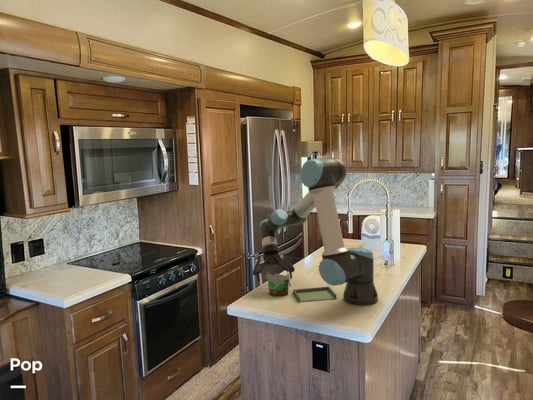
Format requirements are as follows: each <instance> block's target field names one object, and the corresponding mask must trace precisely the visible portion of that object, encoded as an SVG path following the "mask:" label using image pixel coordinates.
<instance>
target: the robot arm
mask: <svg viewBox="0 0 533 400" xmlns="http://www.w3.org/2000/svg"><path fill="white" fill-rule="evenodd" d="M346 167H347V166H346V165H345V163H344V162H343V161H342V160H340V159H339V158H336V157H329V158H328V157H327V158H325V157H324V158H323V157H322V158H317V157H316V158H312V159H307V160H306V161H305V162H304V163H303V165H302V167H301V168H300V174H299V178H300V181H301V184H303V186H305V187H306V188H308V192H307V193H306V194H305V195H304V196H303V198H302V199H301V200H300V201H299V202H298V203H297V204H296V206H295V207H294V208H293V209H292V210H287V211H286V210H284V209H282V208H277V209H275V210H274V211H273V212H272V213H271V215H270V216H269V218H266V219H263V220H261V221H260V223H259V232H260V237H261V238H260V239H261V245H262V254H263V256H261V255H258V256H257V261H256V263H255V265H254V267H253V269H252V275H253V276H256V281H257V282H259V285H260V289H263V280H262V273H263V271H264V270H265V268H266V267H267V266H272V265H274V266H276V265H277V266H279V267H281V268H282V269H283V270H284V271H285V272H286V273H287V274H286V275H288V274H289V276H290V279H289V284H288V287H292V279H293V274H292V273H294V272H295V267H294V265H293V264H292V263H291V262H290V260H289V259H288V258H287V256H286V253H282V254H281V255H280V252H279V247H278V241H277V233H278V232H279V230H280V229H281V228H286V227H290V226H291V227H292V226H296V225H302V224H304V223H306V222H307V221H308V218H309V217H308V216H309V214H311V212H312V211H313V210H314V209H315V210H316V215H317V219H318V225H319V230H320V234H321V240H322V244H323V245H322V246H323V252H322V254H321V257H322V258H321V259H322V260H321V261H319V264H318V272H319V275H320V277H321V279H322V280H323V281H324V282H325V283H326V284H327V285H330V286H333V287H334V286H340V285H344V284H345V283H346V284H345V287H344V290H343V295H342V297H343V301H344V302H346V303H347V304H351V305H356V306H369V305H373V304H375V303H377V302H378V301H379V296H378V295H379V294H378V291H377V288H376V286H375V283H374V282H375V281H374V279H375V278H374V259H375V258H374V252H373V251H372V250H371V249H368V248H362V247H346V246H345V242H344V238H343V233H342V228H341V223H340V220H339V219H340V218H339V214H338V208H337V204H336V199H335V195H334V190H336V189H338V188H339V187H340V186H341V184H342V183H343V182H344V181H345V180H346V177H347V173H348V172H347V168H346ZM282 260H283V261H282ZM262 261H263V263H262V264H261V266H260V263H261V262H262ZM259 266H260V267H259Z"/></svg>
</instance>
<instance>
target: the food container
mask: <svg viewBox="0 0 533 400" xmlns="http://www.w3.org/2000/svg"><path fill="white" fill-rule="evenodd" d="M265 278H266V280H267V285H268V294H269V295H270V296H272V297H275V298H276V297H277V298H278V297H285V296H288V294H289V279H290V276H289V274H288V275H287V274H286V275H285V274H280V273H270V272H269V271H267V272H266V274H265Z"/></svg>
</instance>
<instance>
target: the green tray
mask: <svg viewBox="0 0 533 400" xmlns="http://www.w3.org/2000/svg"><path fill="white" fill-rule="evenodd" d="M292 295H293V297H294V299H295V300H296V302H297V303H307V302H316V301H317V302H319V301H320V302H321V301H331V300H337V299H338V298H337V294H336V293H335V291H334V290H333V289H332V288H331V287H330V286H321V287H320V286H319V287H310V288H309V287H308V288H299V289H297V288H296V289H292Z"/></svg>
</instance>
